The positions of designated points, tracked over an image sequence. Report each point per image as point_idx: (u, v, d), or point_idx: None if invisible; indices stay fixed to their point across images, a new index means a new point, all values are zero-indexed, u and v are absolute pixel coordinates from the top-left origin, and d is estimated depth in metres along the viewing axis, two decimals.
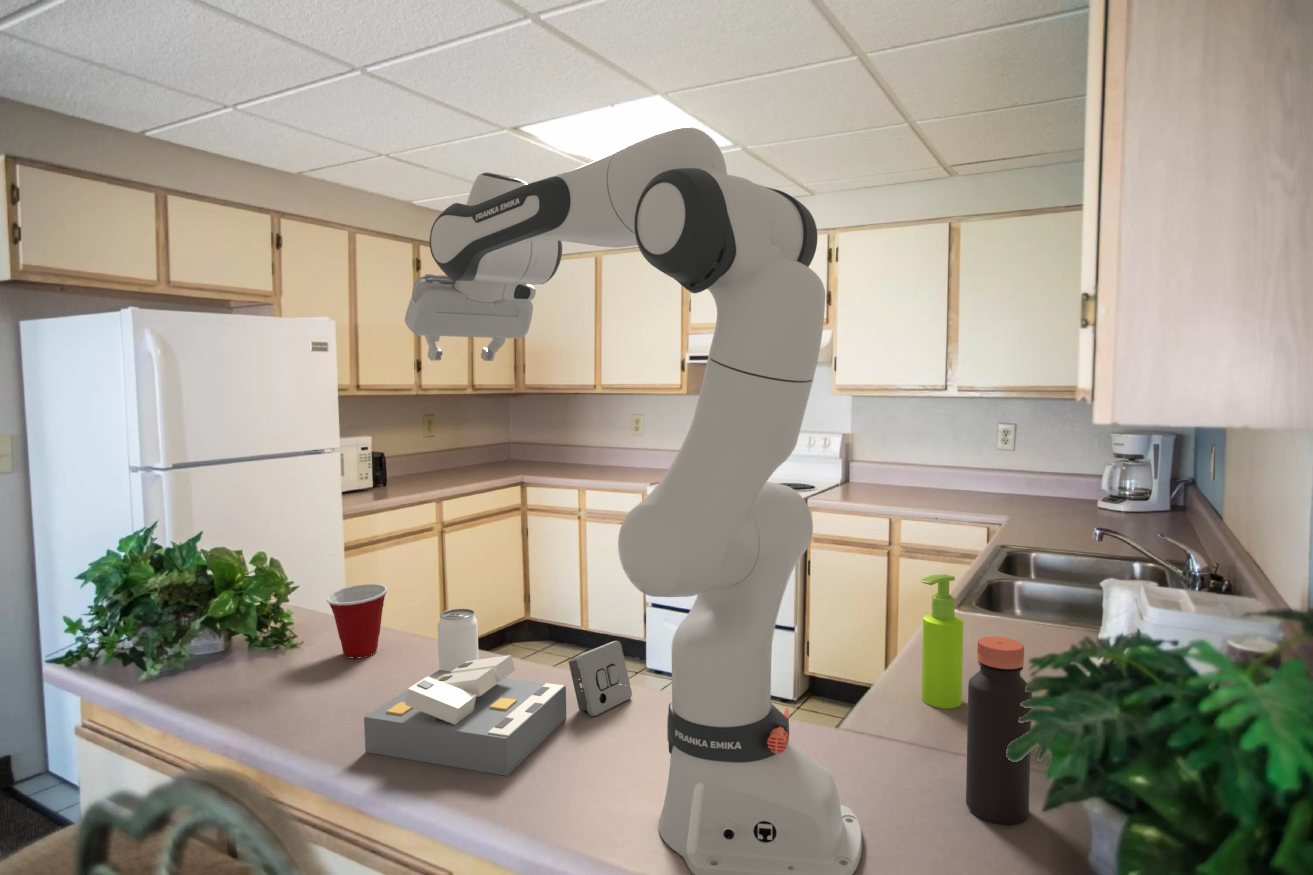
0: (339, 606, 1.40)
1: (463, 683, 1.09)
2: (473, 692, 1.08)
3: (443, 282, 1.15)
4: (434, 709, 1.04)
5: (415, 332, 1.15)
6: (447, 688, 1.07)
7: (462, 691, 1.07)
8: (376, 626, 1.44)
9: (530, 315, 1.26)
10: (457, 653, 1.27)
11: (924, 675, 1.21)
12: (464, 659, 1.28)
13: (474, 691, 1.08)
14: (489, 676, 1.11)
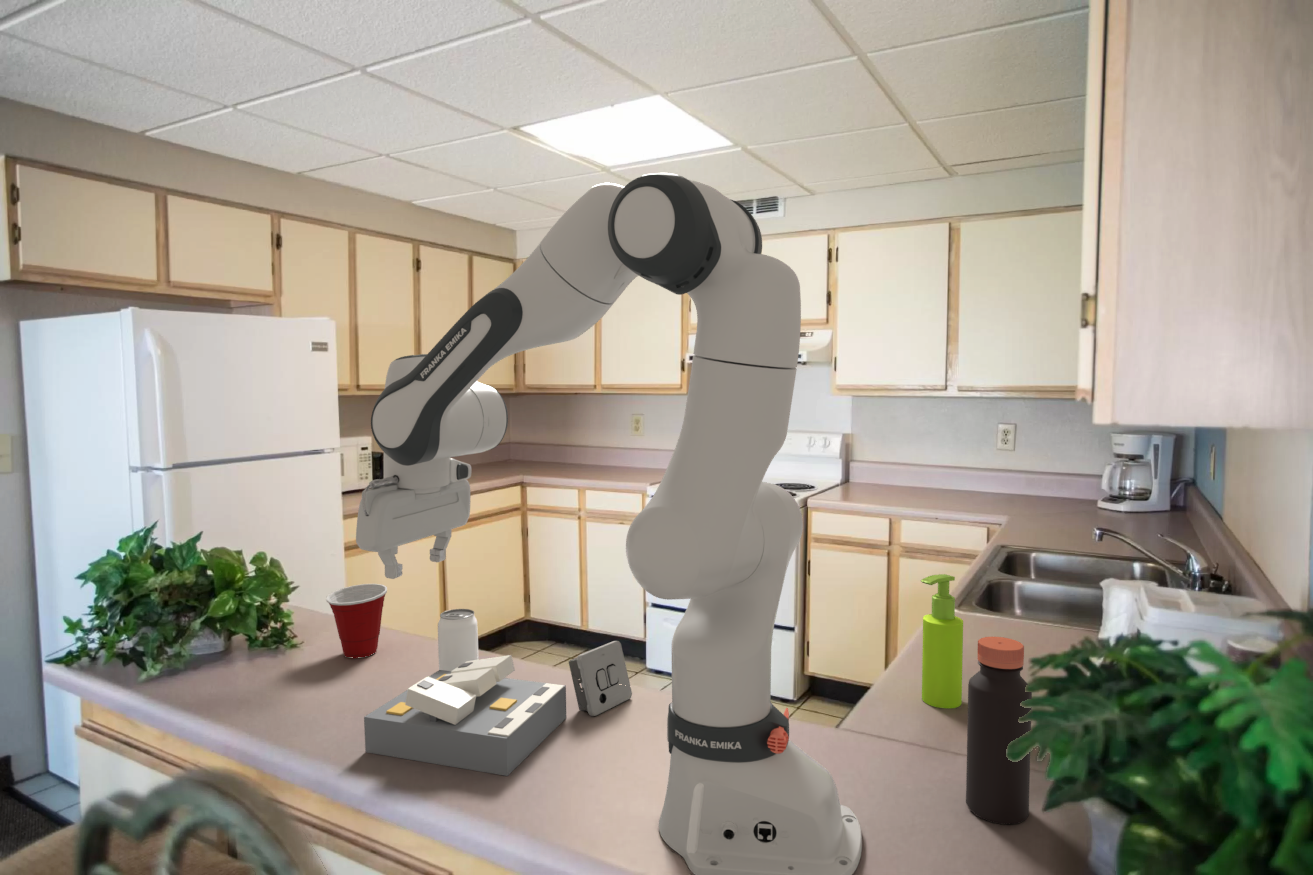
0: (339, 606, 1.40)
1: (463, 683, 1.09)
2: (473, 692, 1.08)
3: (389, 484, 1.02)
4: (434, 709, 1.04)
5: (377, 548, 0.99)
6: (447, 688, 1.07)
7: (462, 691, 1.07)
8: (376, 626, 1.44)
9: (469, 495, 1.16)
10: (457, 653, 1.27)
11: (924, 675, 1.21)
12: (464, 659, 1.28)
13: (474, 691, 1.08)
14: (489, 676, 1.11)
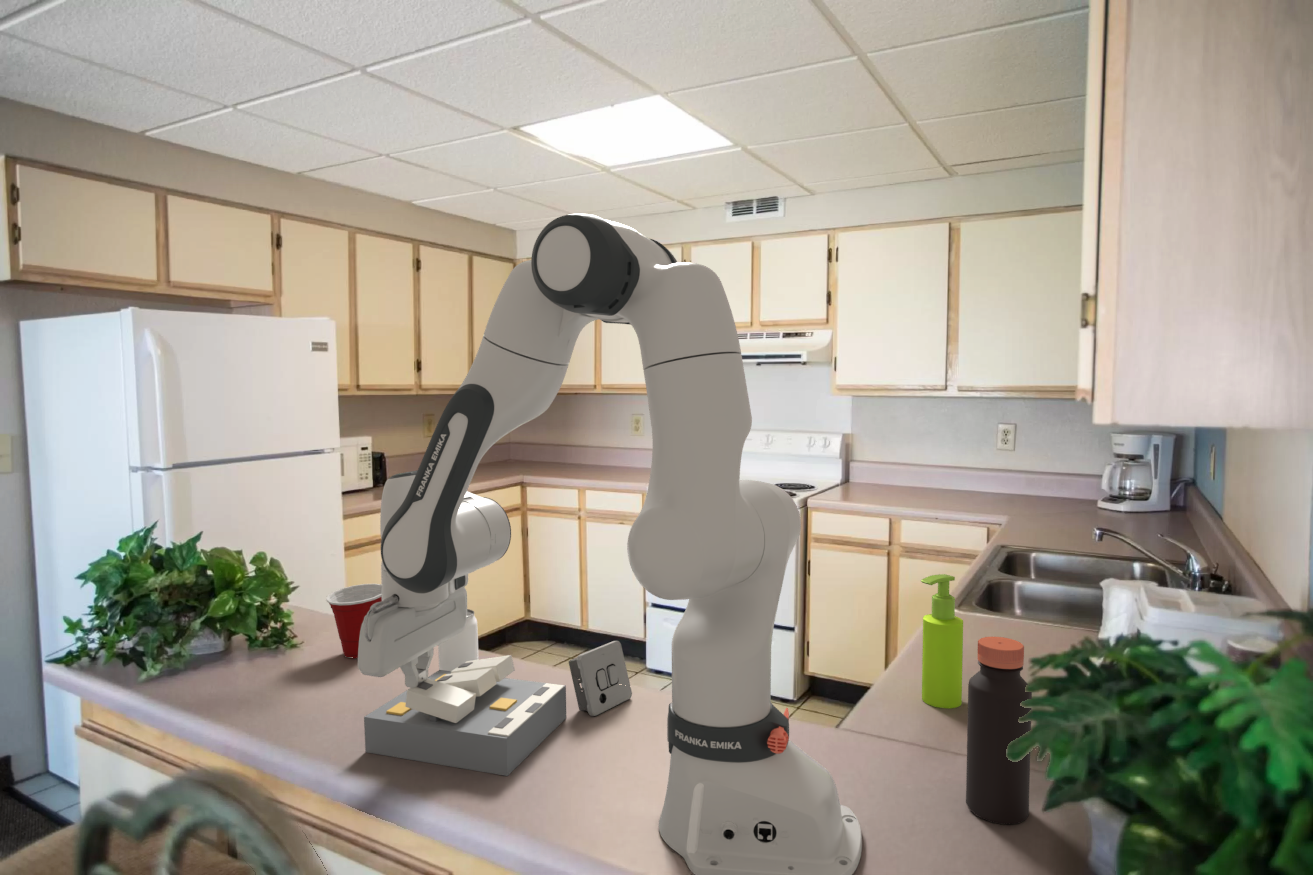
0: (339, 606, 1.40)
1: (463, 683, 1.09)
2: None
3: (389, 605, 1.00)
4: (434, 709, 1.04)
5: (381, 674, 0.98)
6: (447, 688, 1.07)
7: (462, 690, 1.07)
8: None
9: (466, 601, 1.15)
10: (457, 653, 1.27)
11: (924, 675, 1.21)
12: (464, 659, 1.28)
13: (474, 691, 1.08)
14: (489, 676, 1.11)
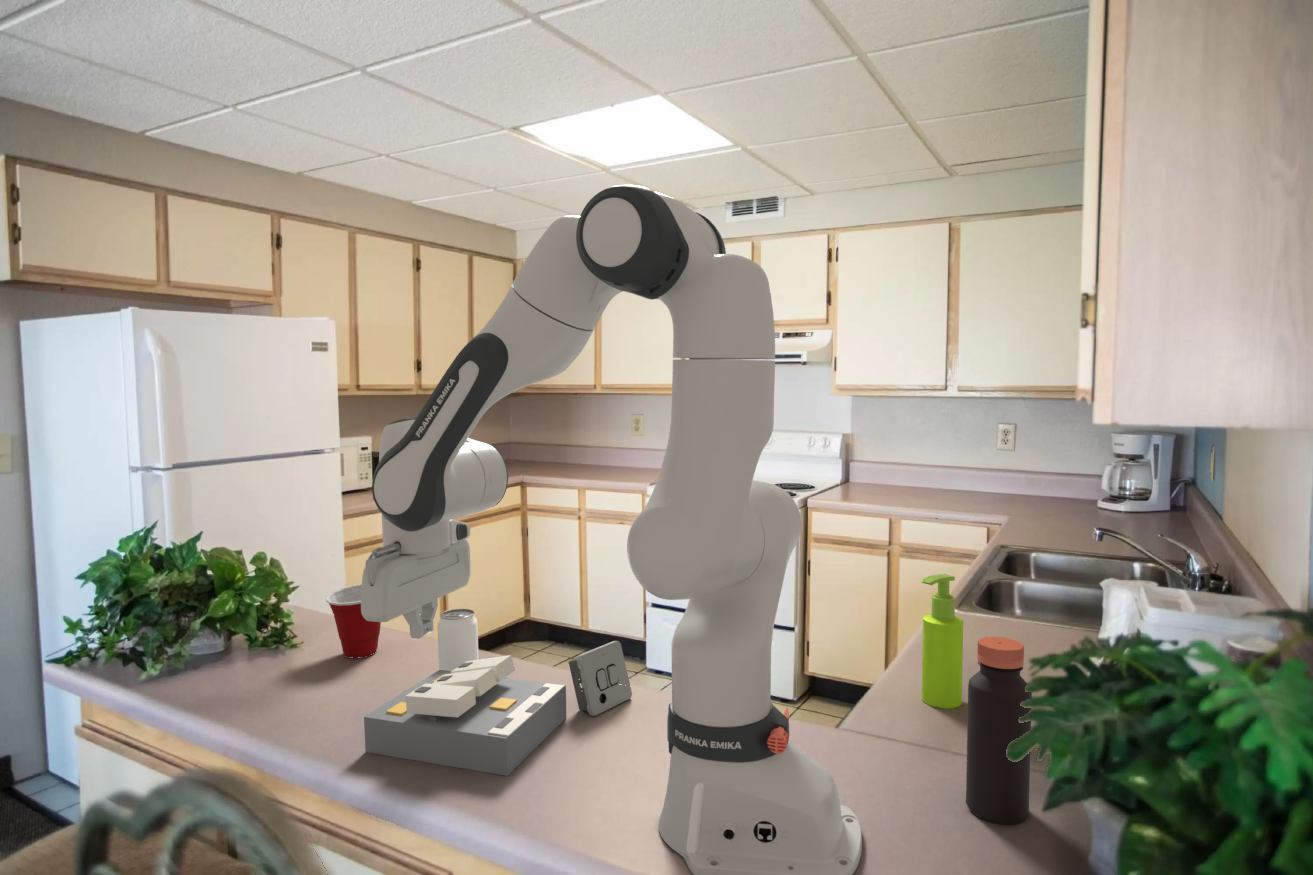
0: (339, 606, 1.40)
1: (463, 683, 1.09)
2: None
3: (391, 551, 1.00)
4: (434, 708, 1.04)
5: (385, 618, 0.97)
6: (445, 688, 1.07)
7: (460, 687, 1.07)
8: (376, 626, 1.44)
9: (469, 555, 1.14)
10: (457, 653, 1.27)
11: (924, 675, 1.21)
12: (464, 659, 1.28)
13: None
14: (489, 676, 1.11)
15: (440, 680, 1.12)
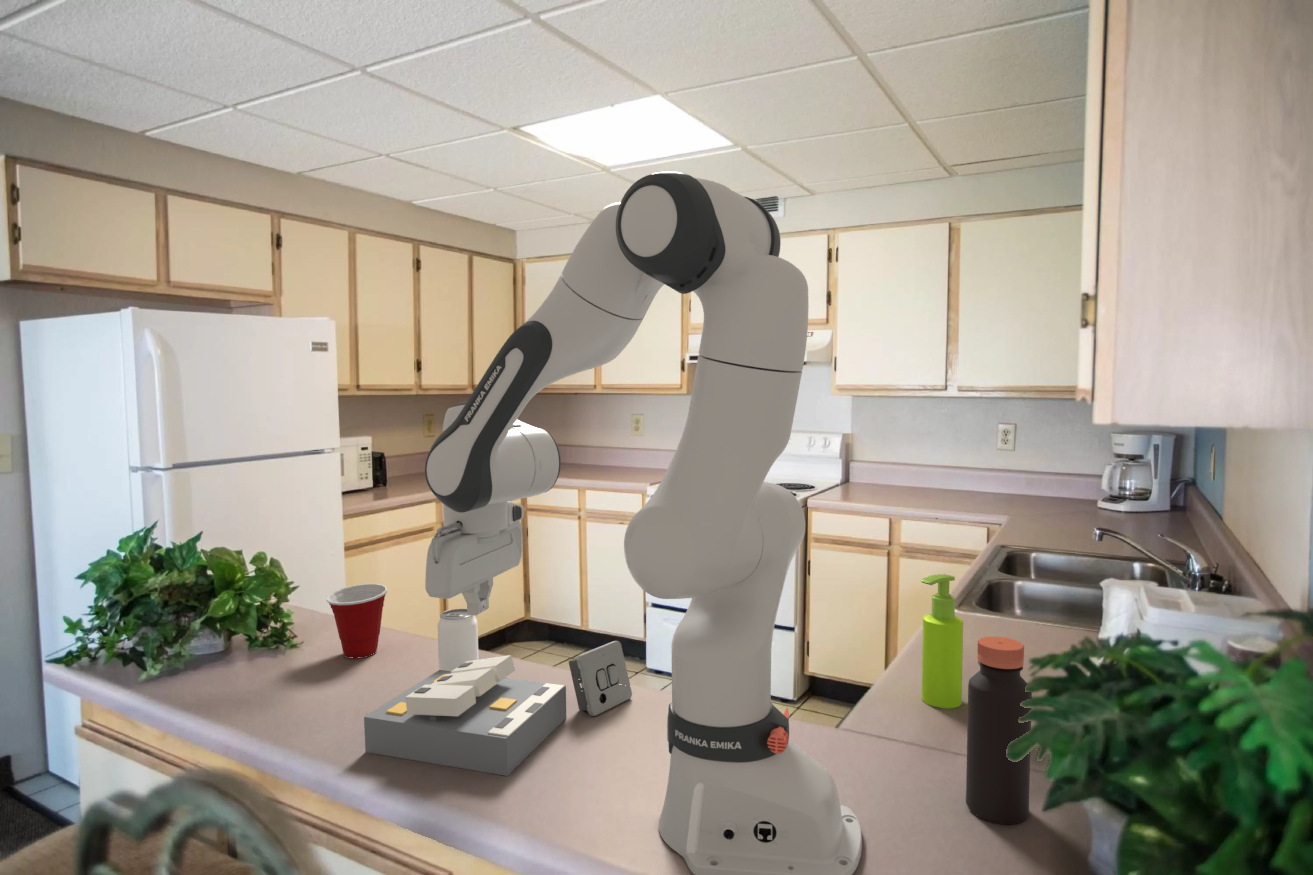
0: (339, 606, 1.40)
1: (463, 683, 1.09)
2: None
3: (454, 530, 1.03)
4: (435, 708, 1.04)
5: (448, 595, 1.00)
6: (445, 688, 1.07)
7: (460, 686, 1.07)
8: (376, 626, 1.44)
9: (522, 536, 1.17)
10: (457, 653, 1.27)
11: (924, 675, 1.21)
12: (464, 659, 1.28)
13: None
14: (489, 676, 1.11)
15: (440, 680, 1.12)
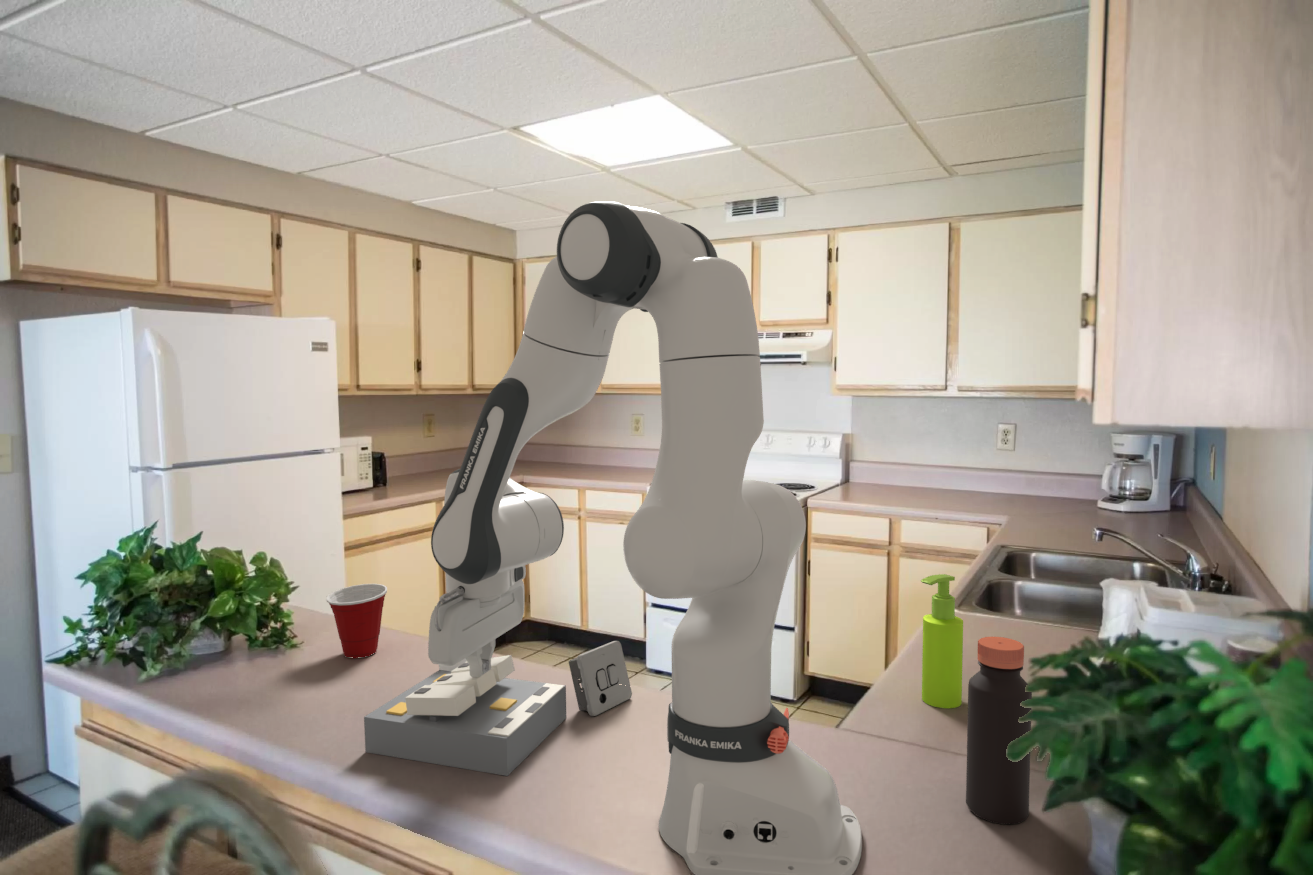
0: (339, 606, 1.40)
1: (463, 683, 1.09)
2: None
3: (456, 596, 1.04)
4: (435, 708, 1.04)
5: (451, 662, 1.01)
6: (445, 687, 1.07)
7: (459, 686, 1.07)
8: (376, 626, 1.44)
9: (523, 594, 1.18)
10: None
11: (924, 675, 1.21)
12: (464, 659, 1.28)
13: None
14: (489, 676, 1.11)
15: (440, 680, 1.12)
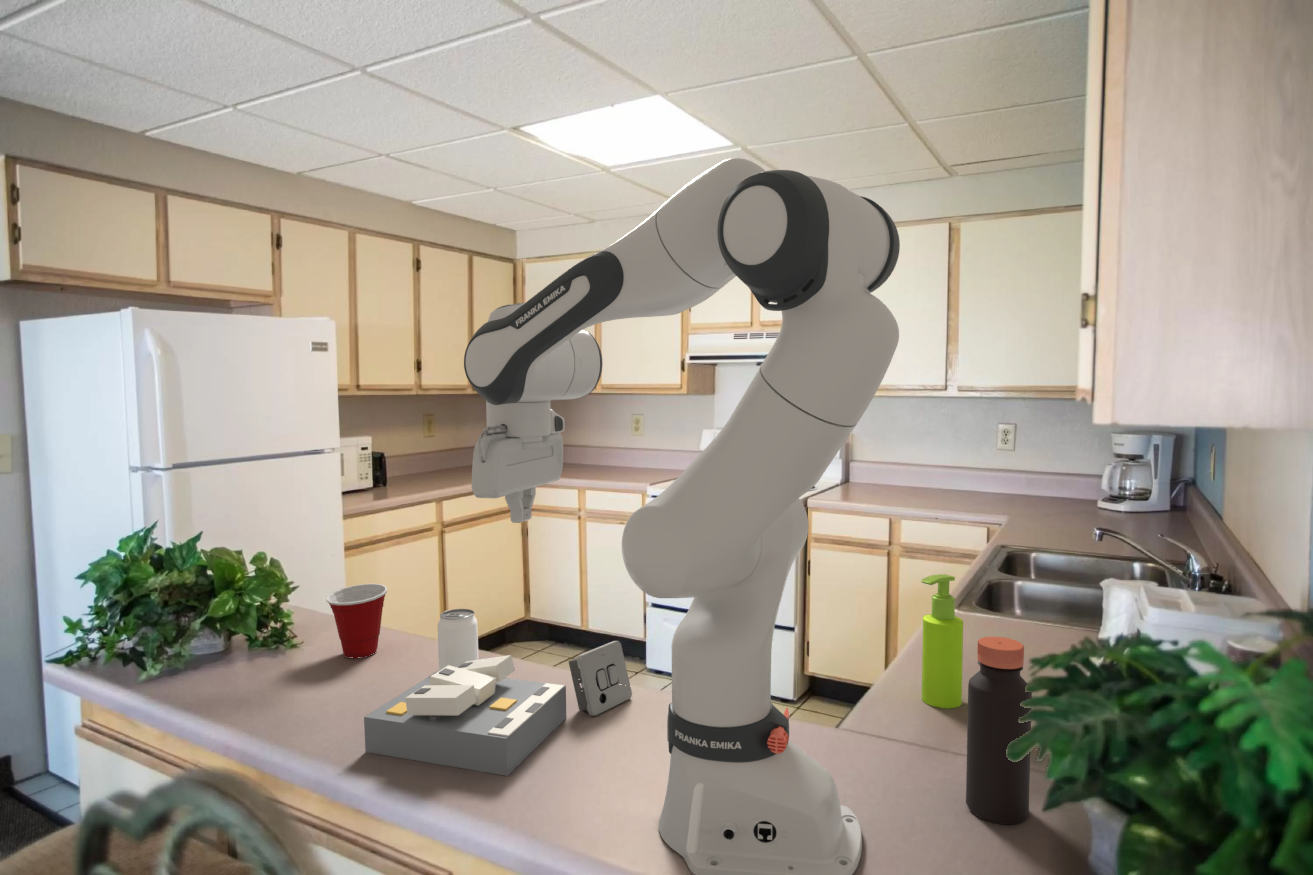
0: (339, 606, 1.40)
1: None
2: None
3: (499, 432, 1.02)
4: (435, 708, 1.04)
5: (495, 494, 0.99)
6: (445, 687, 1.07)
7: (459, 686, 1.07)
8: (376, 626, 1.44)
9: (562, 450, 1.16)
10: (457, 653, 1.27)
11: (924, 675, 1.21)
12: (464, 659, 1.28)
13: None
14: (491, 686, 1.11)
15: (442, 673, 1.12)
